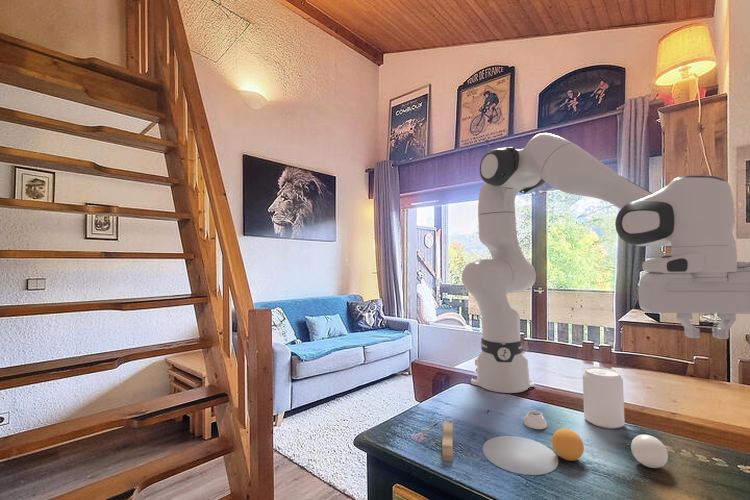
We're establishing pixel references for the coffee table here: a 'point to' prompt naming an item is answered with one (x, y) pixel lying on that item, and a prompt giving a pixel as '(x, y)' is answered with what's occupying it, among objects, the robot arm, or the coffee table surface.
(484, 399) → the coffee table surface
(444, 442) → the wall
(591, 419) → the beverage can
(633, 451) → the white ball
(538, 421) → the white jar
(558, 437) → the orange ball
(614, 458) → the coffee table surface
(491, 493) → the coffee table surface
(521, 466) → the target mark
